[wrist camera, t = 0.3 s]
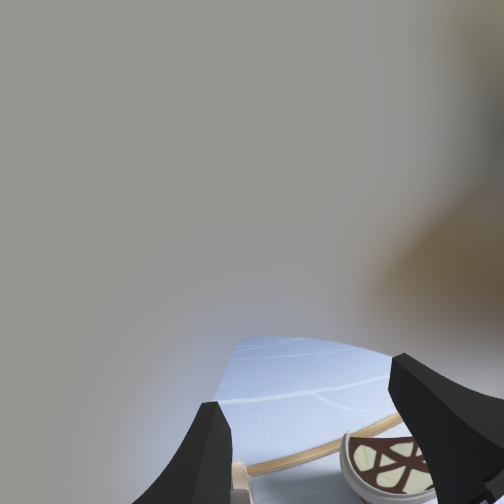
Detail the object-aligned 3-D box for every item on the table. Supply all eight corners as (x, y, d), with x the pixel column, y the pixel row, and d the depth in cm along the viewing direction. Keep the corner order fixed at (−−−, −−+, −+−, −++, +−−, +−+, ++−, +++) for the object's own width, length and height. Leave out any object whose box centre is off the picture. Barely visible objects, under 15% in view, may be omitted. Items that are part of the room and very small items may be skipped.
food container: (325, 515, 16) (316, 495, 12) (344, 468, 21) (340, 429, 17) (443, 517, 10) (482, 492, 6) (451, 467, 15) (484, 424, 11)
